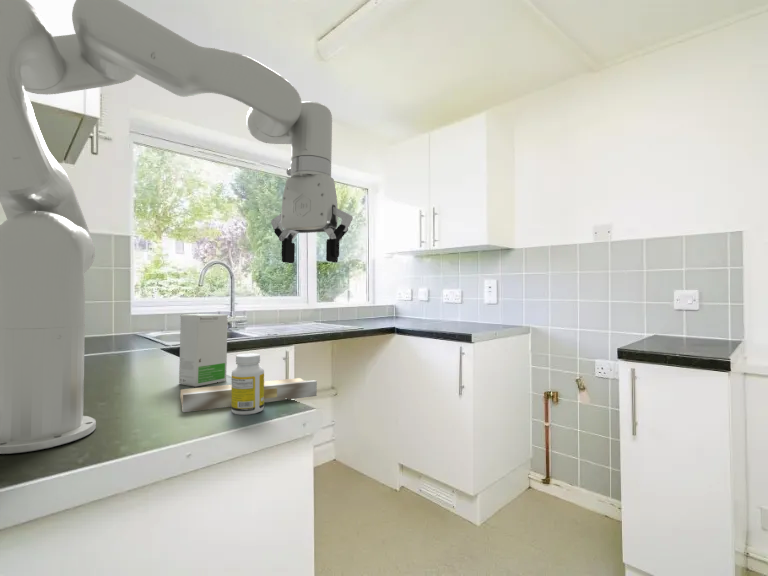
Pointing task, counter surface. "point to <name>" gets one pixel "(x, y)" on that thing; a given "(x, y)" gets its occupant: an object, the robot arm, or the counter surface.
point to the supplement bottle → (247, 385)
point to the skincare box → (203, 349)
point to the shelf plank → (223, 394)
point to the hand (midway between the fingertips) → (309, 262)
